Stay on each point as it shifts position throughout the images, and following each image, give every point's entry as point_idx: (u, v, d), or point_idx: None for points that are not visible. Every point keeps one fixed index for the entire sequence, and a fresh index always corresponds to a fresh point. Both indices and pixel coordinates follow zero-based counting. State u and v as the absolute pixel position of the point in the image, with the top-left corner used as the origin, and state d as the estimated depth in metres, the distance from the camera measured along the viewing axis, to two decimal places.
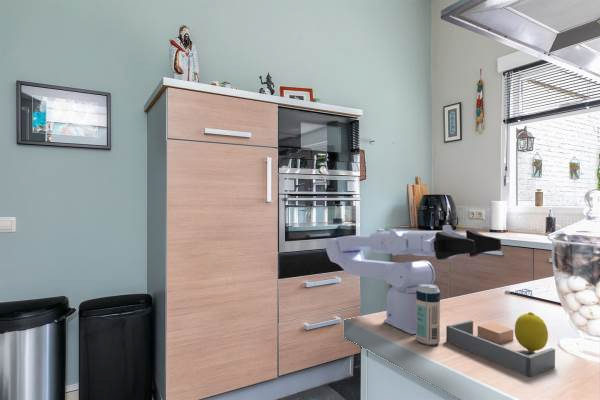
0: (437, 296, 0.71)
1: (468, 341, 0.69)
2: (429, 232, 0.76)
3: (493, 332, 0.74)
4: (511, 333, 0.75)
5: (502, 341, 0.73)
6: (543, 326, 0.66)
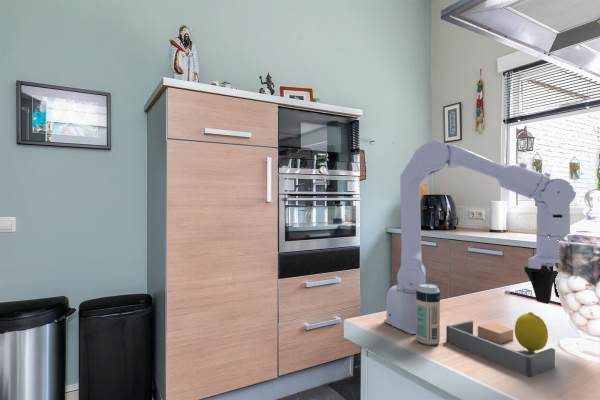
0: (437, 296, 0.71)
1: (468, 341, 0.69)
2: None
3: (493, 332, 0.74)
4: (511, 333, 0.75)
5: (502, 341, 0.73)
6: (543, 326, 0.66)
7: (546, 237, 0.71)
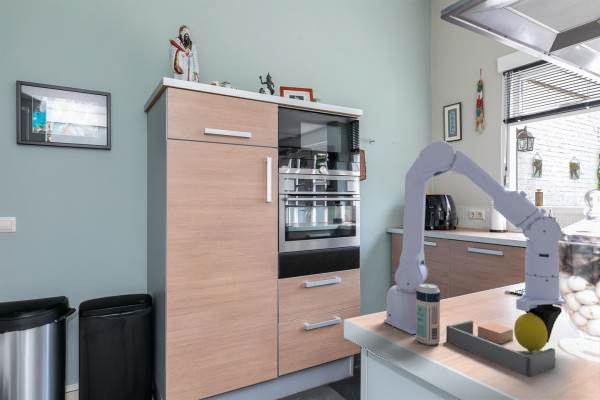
0: (437, 296, 0.71)
1: (468, 341, 0.69)
2: (552, 282, 0.68)
3: (494, 332, 0.74)
4: (511, 333, 0.75)
5: (503, 341, 0.73)
6: (542, 326, 0.66)
7: (534, 277, 0.69)
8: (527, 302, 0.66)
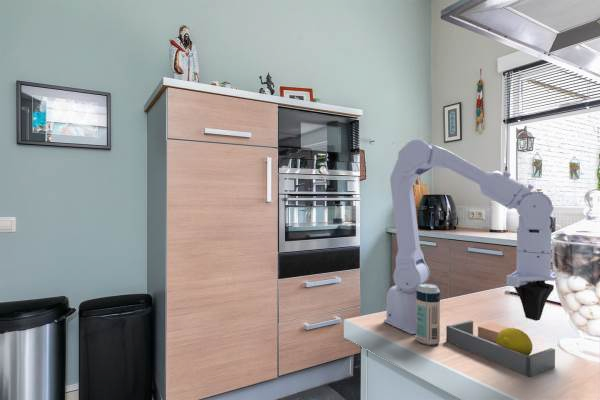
0: (437, 296, 0.71)
1: (468, 341, 0.69)
2: (543, 258, 0.66)
3: (494, 332, 0.74)
4: None
5: None
6: (523, 347, 0.62)
7: (526, 253, 0.68)
8: (517, 278, 0.65)
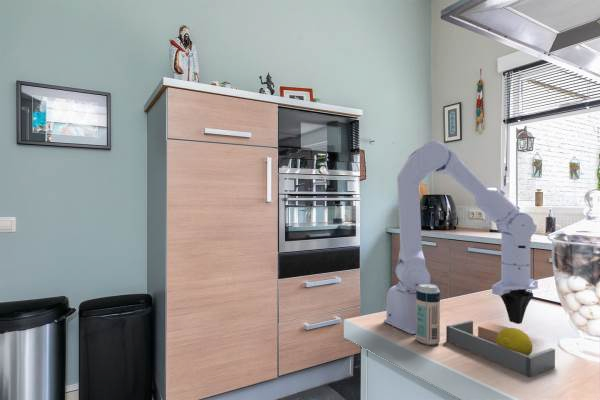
0: (437, 296, 0.71)
1: (468, 341, 0.69)
2: (523, 270, 0.77)
3: (495, 332, 0.74)
4: None
5: None
6: (523, 347, 0.62)
7: (509, 265, 0.78)
8: (501, 287, 0.76)
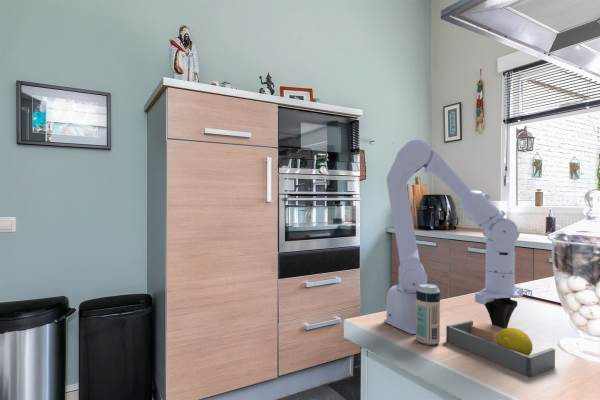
0: (437, 296, 0.71)
1: (468, 341, 0.69)
2: (507, 278, 0.74)
3: (487, 332, 0.73)
4: None
5: (496, 341, 0.72)
6: (523, 347, 0.62)
7: (492, 273, 0.75)
8: (484, 296, 0.73)
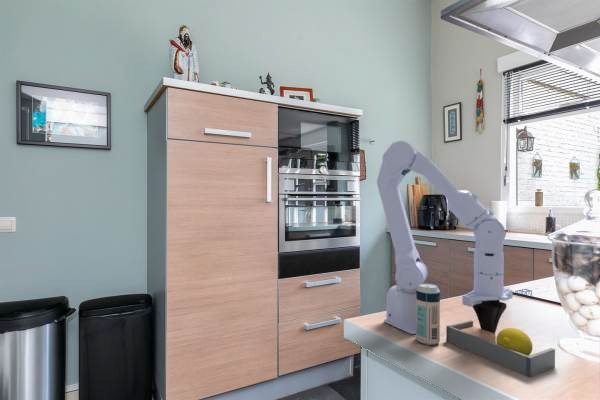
0: (437, 296, 0.71)
1: (468, 341, 0.69)
2: (496, 280, 0.72)
3: None
4: (493, 338, 0.72)
5: None
6: (523, 347, 0.62)
7: (481, 274, 0.74)
8: (471, 298, 0.71)
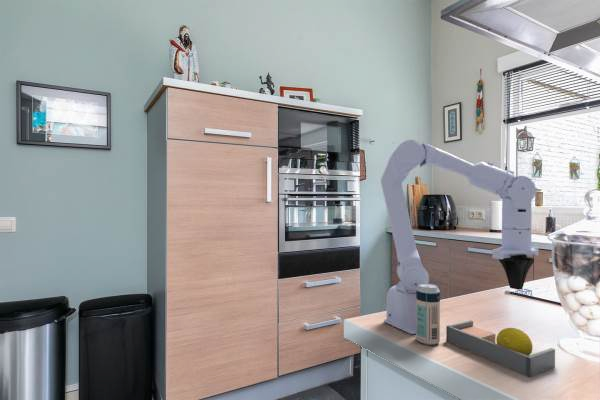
0: (437, 296, 0.71)
1: (468, 341, 0.69)
2: (524, 234, 0.75)
3: None
4: (493, 337, 0.72)
5: None
6: (523, 347, 0.62)
7: (509, 230, 0.77)
8: (501, 251, 0.74)
